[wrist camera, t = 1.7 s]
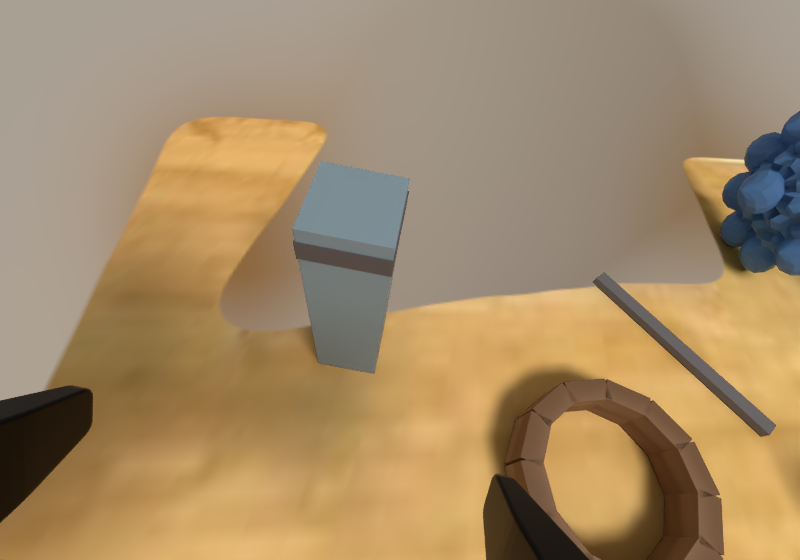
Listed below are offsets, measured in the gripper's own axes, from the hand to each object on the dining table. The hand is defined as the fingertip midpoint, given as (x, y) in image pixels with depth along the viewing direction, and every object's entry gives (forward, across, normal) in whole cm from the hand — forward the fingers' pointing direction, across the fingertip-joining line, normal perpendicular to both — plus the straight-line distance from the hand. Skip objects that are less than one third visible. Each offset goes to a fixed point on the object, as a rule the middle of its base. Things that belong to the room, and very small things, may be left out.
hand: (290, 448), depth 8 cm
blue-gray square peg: (+16, +1, +4) cm, 17 cm away
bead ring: (+12, -15, +8) cm, 21 cm away
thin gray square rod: (+19, -22, +1) cm, 29 cm away
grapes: (+28, -29, -7) cm, 41 cm away
